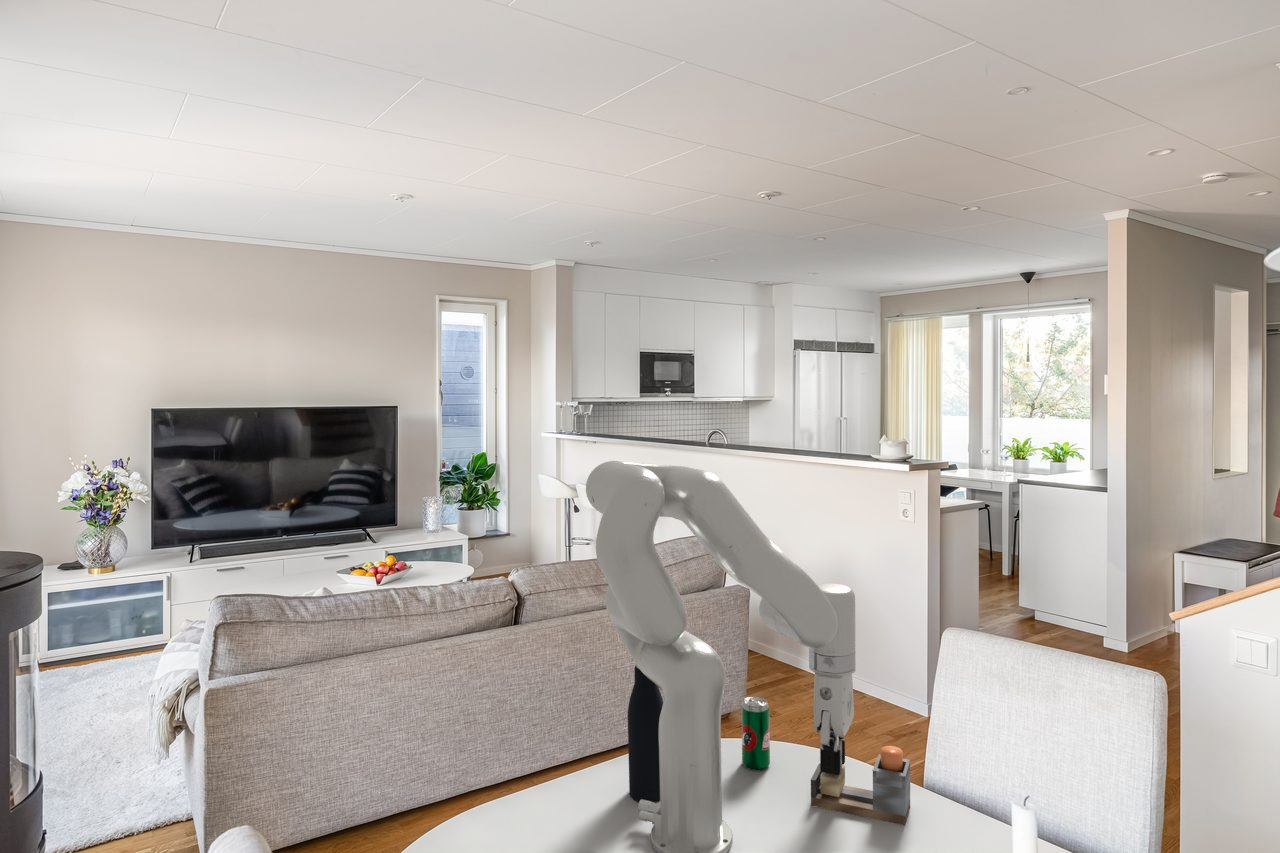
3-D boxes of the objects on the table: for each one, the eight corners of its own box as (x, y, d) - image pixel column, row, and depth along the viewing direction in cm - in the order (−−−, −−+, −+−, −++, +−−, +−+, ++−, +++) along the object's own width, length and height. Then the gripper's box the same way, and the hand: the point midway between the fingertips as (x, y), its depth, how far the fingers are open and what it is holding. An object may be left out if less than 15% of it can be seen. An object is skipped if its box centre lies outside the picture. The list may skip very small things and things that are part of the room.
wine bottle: (624, 800, 136) (620, 626, 134) (635, 782, 143) (631, 615, 141) (661, 805, 135) (657, 629, 133) (670, 786, 141) (667, 618, 139)
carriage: (820, 793, 133) (820, 746, 133) (827, 779, 138) (826, 733, 137) (838, 797, 132) (838, 749, 131) (844, 782, 136) (844, 736, 136)
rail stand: (811, 805, 134) (810, 758, 133) (819, 788, 139) (818, 743, 138) (905, 825, 127) (905, 776, 127) (910, 807, 132) (910, 759, 132)
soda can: (769, 772, 145) (768, 707, 144) (741, 770, 146) (740, 705, 145) (770, 759, 150) (769, 696, 149) (743, 757, 151) (742, 694, 150)
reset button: (879, 769, 130) (879, 753, 129) (882, 759, 133) (882, 744, 132) (901, 773, 128) (901, 757, 128) (904, 763, 131) (904, 748, 131)
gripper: (845, 680, 124) (845, 795, 126) (863, 647, 139) (864, 750, 140) (797, 673, 128) (798, 786, 129) (820, 641, 142) (821, 743, 144)
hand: (832, 766), depth 135 cm, fingers closed on carriage, 3 cm apart
